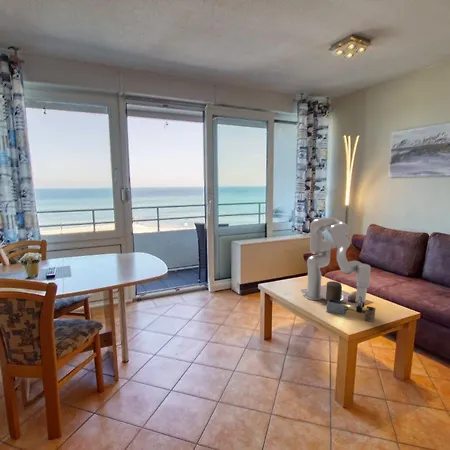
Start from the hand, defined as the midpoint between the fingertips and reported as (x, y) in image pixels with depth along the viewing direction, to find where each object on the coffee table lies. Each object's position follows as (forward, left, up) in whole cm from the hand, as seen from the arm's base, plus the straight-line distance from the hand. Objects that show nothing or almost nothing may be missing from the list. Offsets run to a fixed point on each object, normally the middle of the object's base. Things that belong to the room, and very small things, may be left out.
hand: (360, 309), depth 190 cm
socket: (+6, 0, -5) cm, 8 cm away
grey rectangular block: (-14, 0, -5) cm, 15 cm away
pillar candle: (-20, +16, -5) cm, 26 cm away
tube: (-3, 0, -2) cm, 4 cm away
